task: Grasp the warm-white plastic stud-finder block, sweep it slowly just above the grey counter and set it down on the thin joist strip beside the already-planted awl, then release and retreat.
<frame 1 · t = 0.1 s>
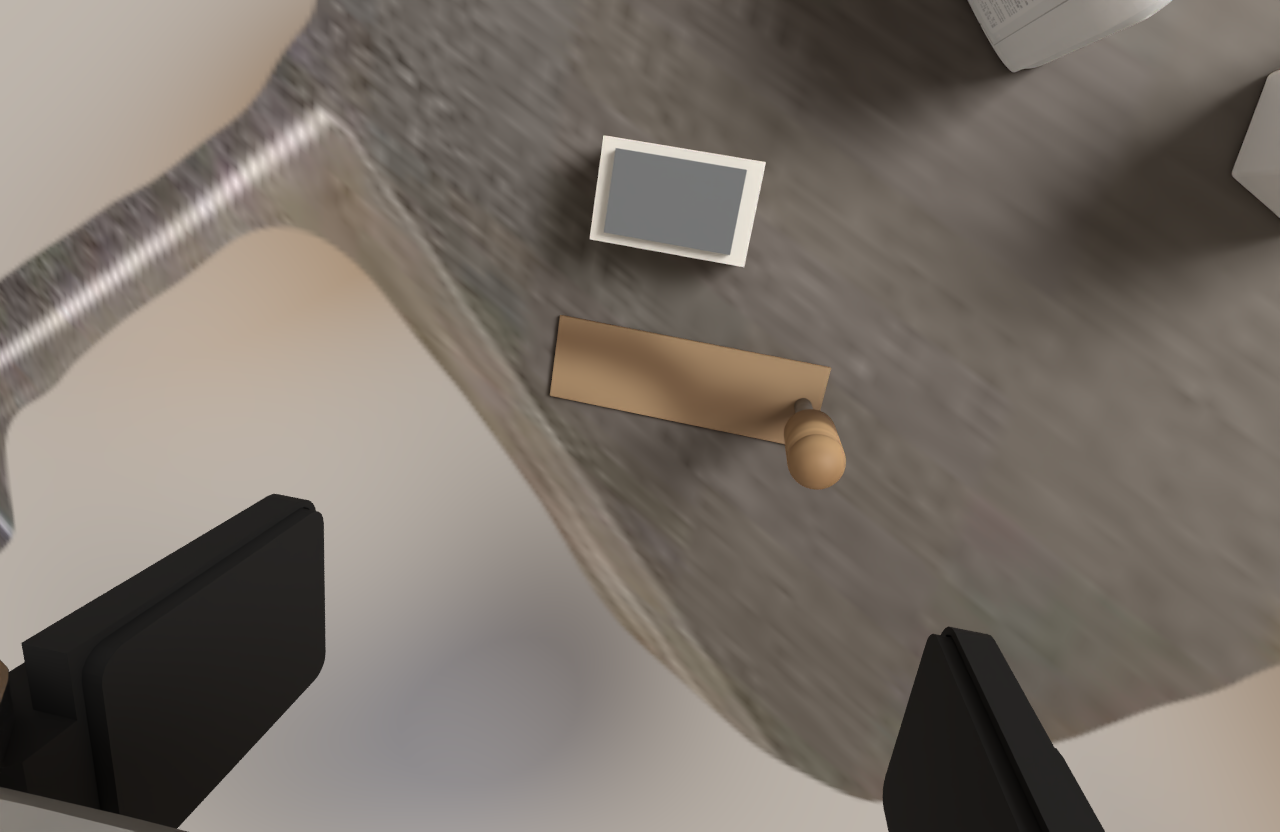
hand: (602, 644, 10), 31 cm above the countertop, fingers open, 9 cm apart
stud finder: (683, 202, 38), on the countertop
joist strip: (685, 381, 41), on the countertop
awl: (803, 406, 40), resting on joist strip
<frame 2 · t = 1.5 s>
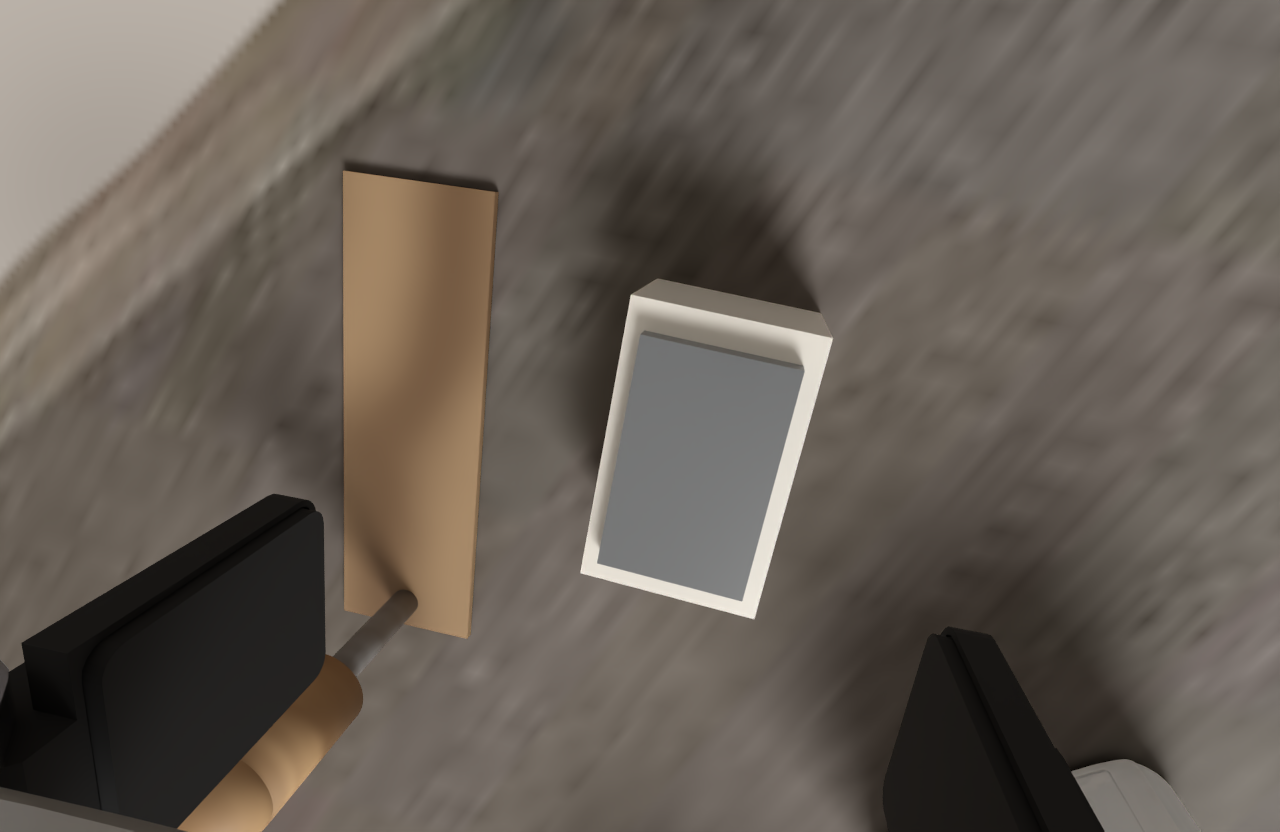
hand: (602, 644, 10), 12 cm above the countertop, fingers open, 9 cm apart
stud finder: (709, 417, 22), on the countertop
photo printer: (1013, 827, 24), on the countertop
joist strip: (414, 423, 24), on the countertop
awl: (405, 601, 26), resting on joist strip
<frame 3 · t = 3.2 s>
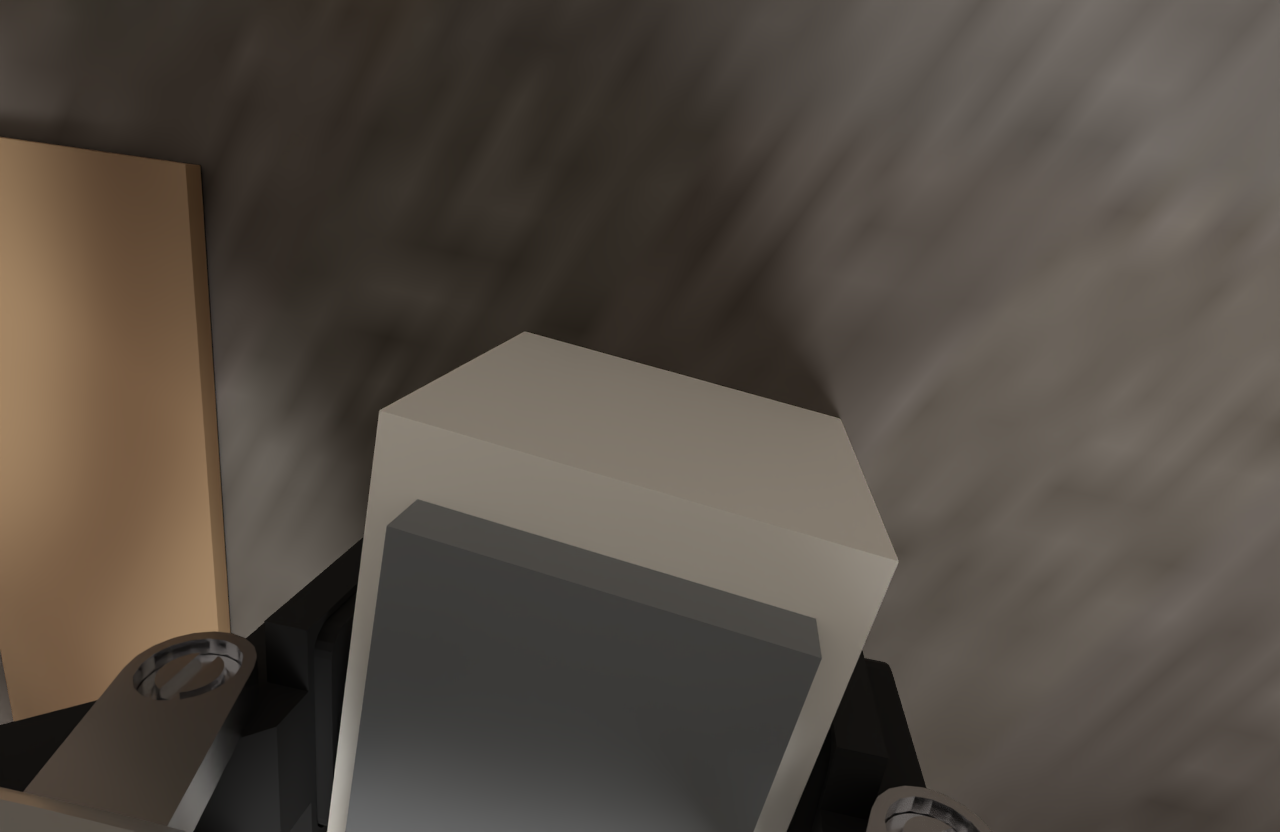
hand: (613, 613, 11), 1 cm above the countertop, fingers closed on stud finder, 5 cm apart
stud finder: (620, 593, 12), on the countertop, touching gripper
joist strip: (111, 580, 13), on the countertop
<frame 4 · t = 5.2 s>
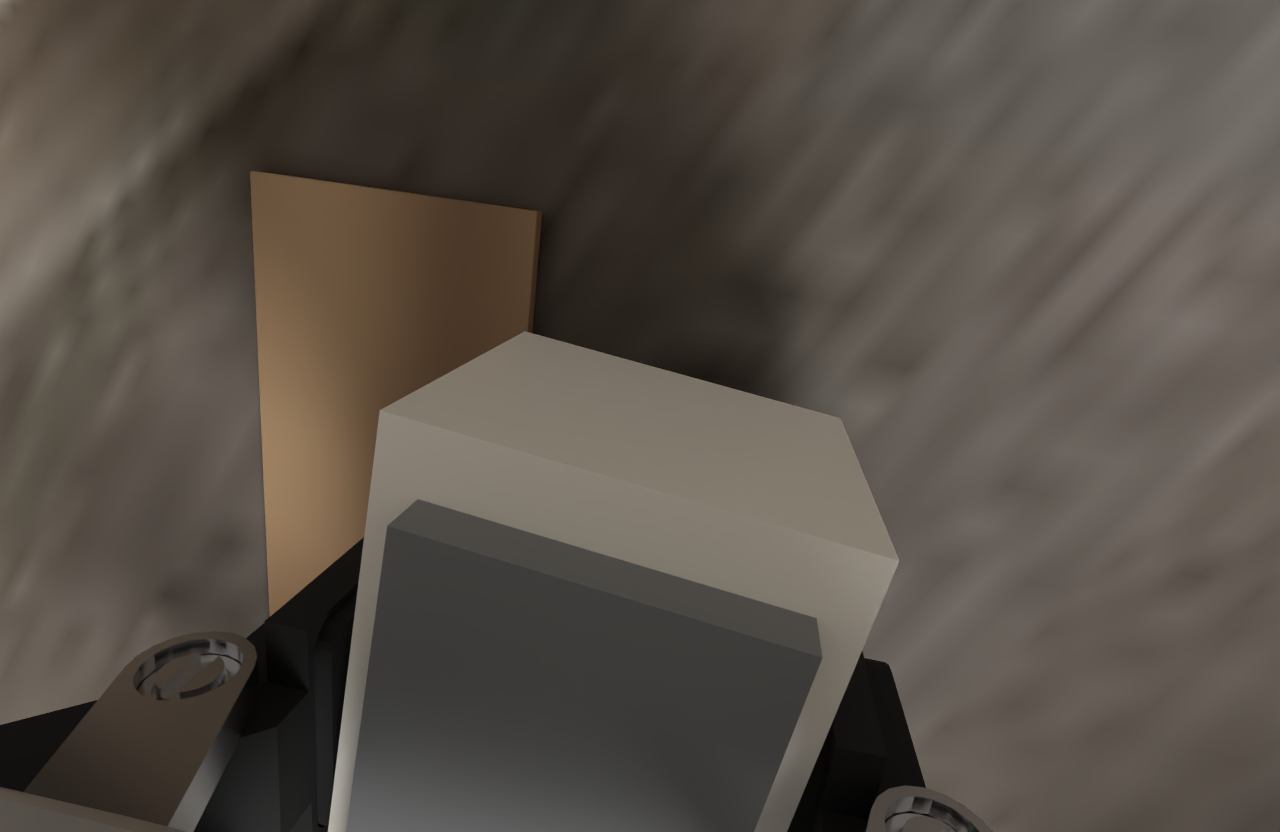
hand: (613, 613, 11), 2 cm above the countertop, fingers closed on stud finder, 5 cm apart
stud finder: (621, 593, 12), point 1 cm above the countertop, touching gripper
joist strip: (390, 600, 14), on the countertop
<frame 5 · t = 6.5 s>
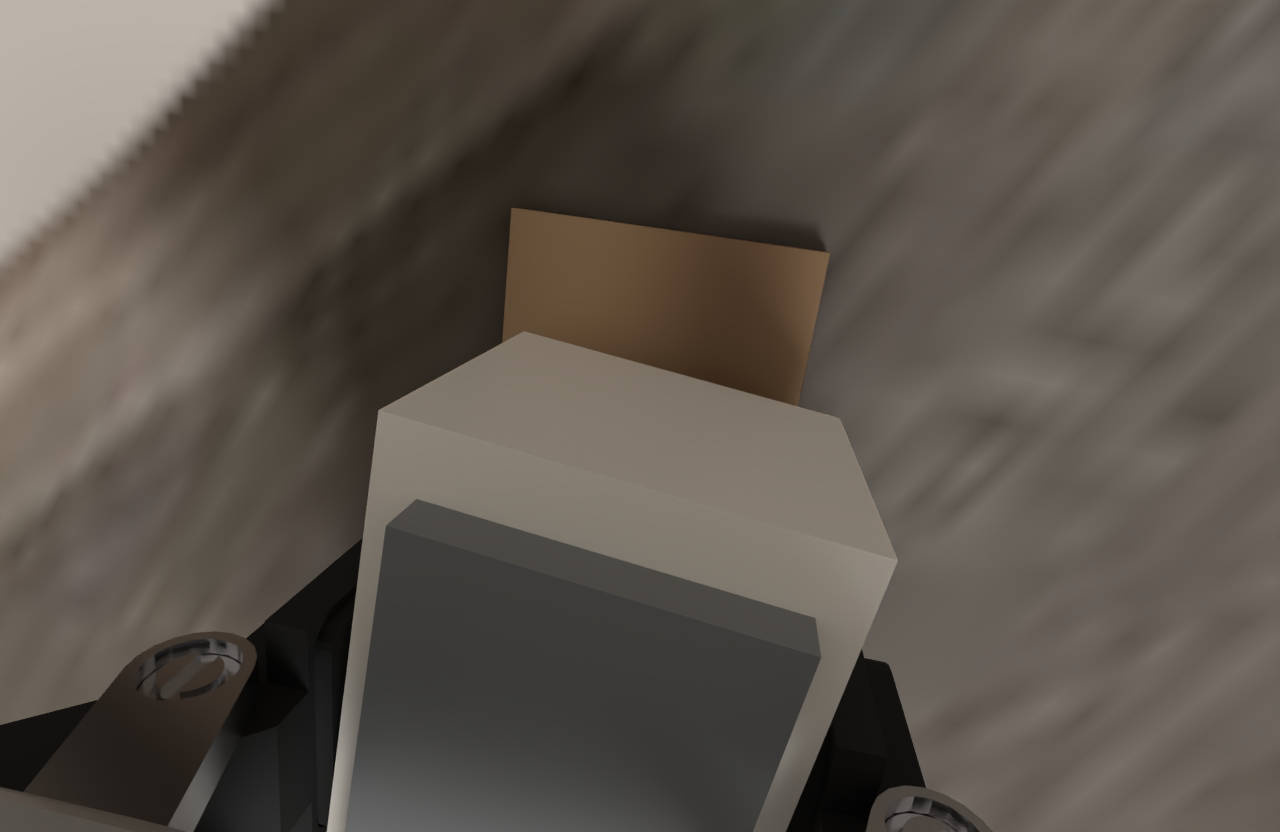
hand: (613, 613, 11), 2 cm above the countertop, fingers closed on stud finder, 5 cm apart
stud finder: (620, 593, 12), point 1 cm above the countertop, touching gripper
joist strip: (610, 651, 13), on the countertop
when the fingers open (2 cm above the countertop, at t = 7.4 s): stud finder stays where it is, resting on joist strip.
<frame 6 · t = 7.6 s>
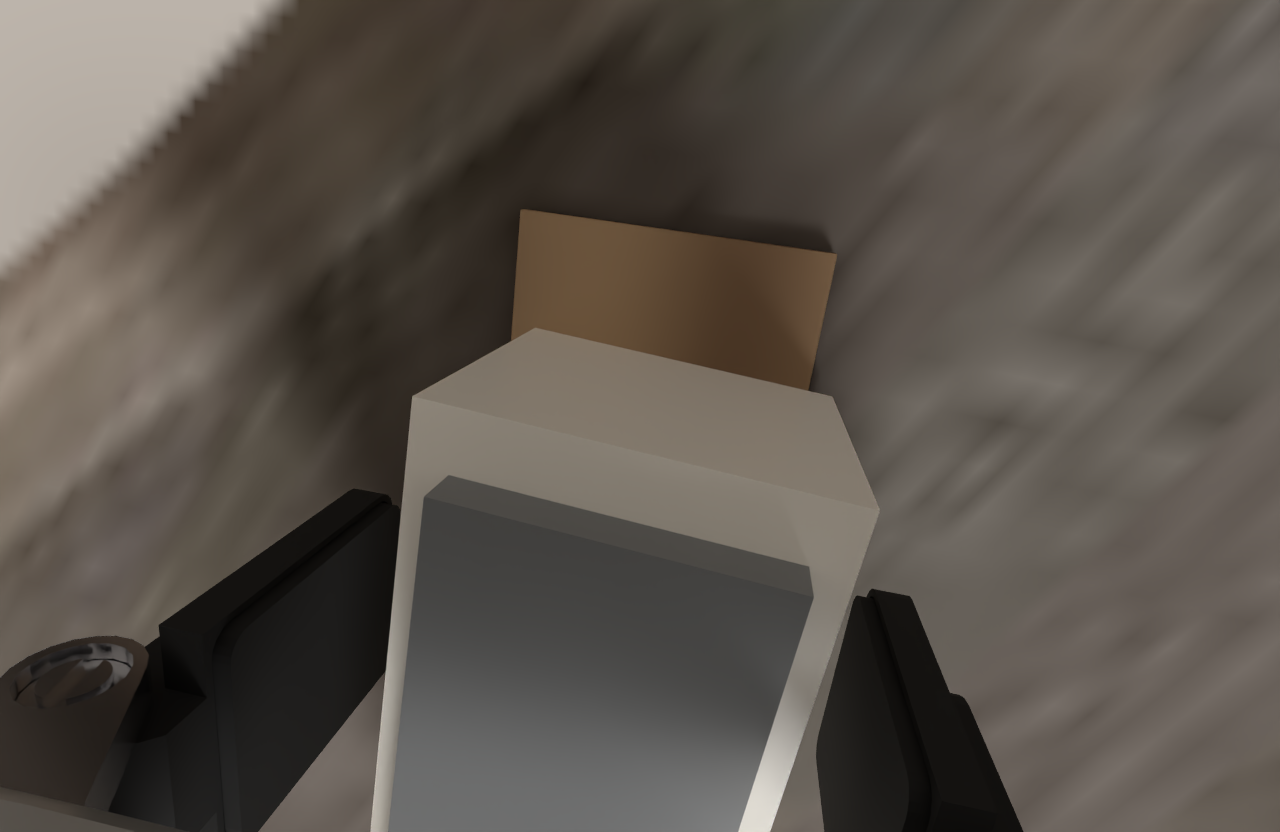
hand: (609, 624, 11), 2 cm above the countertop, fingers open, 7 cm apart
stud finder: (634, 570, 13), resting on joist strip
joist strip: (617, 650, 13), on the countertop
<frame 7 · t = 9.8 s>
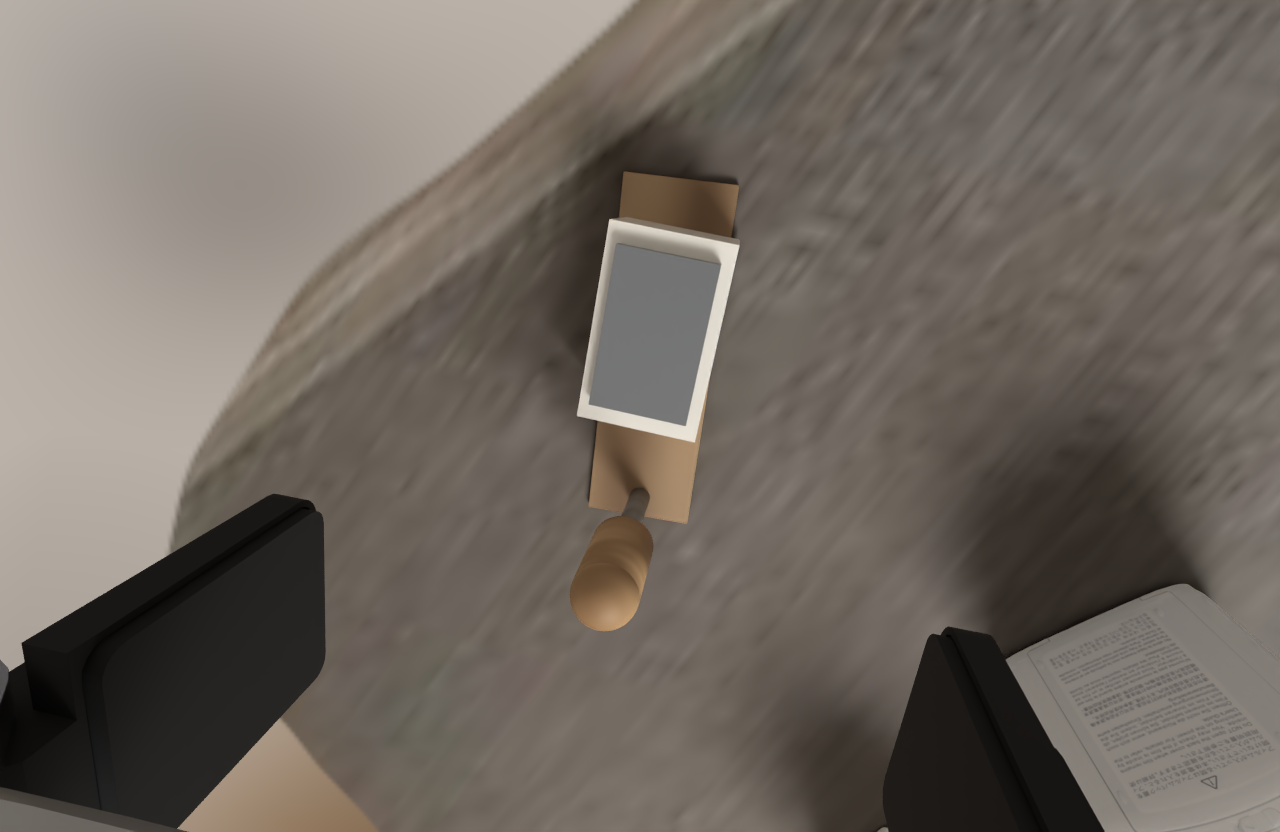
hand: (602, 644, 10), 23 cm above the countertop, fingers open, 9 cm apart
stud finder: (665, 317, 31), resting on joist strip
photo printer: (1097, 646, 33), on the countertop
joist strip: (658, 358, 32), on the countertop
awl: (639, 497, 34), resting on joist strip
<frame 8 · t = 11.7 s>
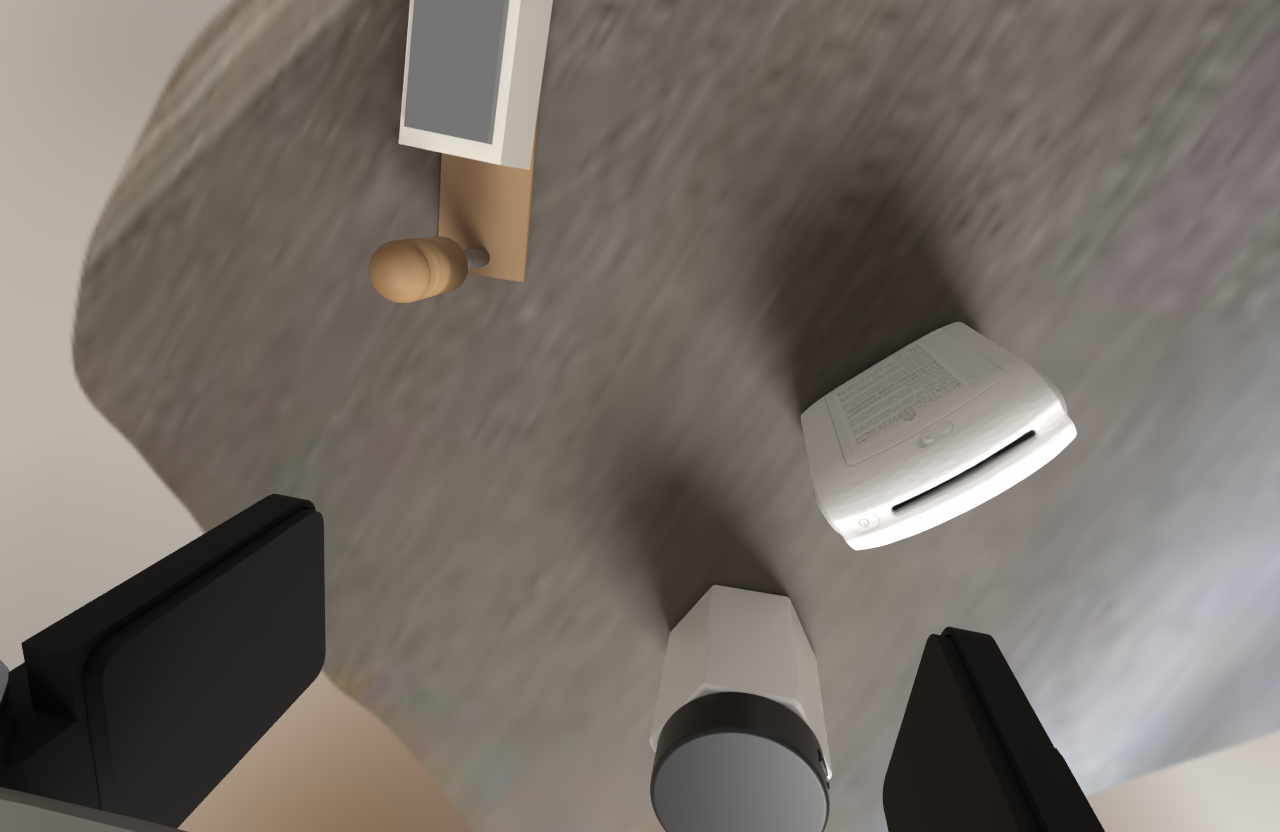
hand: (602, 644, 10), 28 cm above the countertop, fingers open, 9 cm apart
jar: (742, 642, 43), on the countertop
stud finder: (493, 77, 35), resting on joist strip
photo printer: (890, 393, 37), on the countertop
joist strip: (491, 120, 36), on the countertop
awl: (481, 257, 38), resting on joist strip
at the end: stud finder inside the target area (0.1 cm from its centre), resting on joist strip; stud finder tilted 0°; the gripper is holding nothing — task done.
